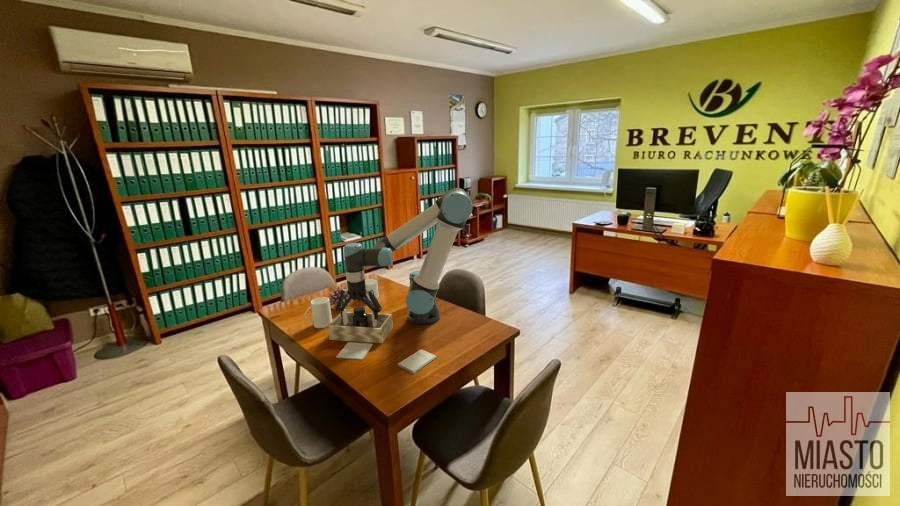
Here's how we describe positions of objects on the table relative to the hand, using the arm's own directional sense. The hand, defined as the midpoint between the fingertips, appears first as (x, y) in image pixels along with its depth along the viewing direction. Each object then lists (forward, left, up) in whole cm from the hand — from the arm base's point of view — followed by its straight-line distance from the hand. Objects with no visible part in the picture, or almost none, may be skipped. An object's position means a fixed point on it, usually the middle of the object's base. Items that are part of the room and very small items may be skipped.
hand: (360, 324), depth 158 cm
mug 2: (+12, -38, -4) cm, 40 cm away
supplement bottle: (0, 0, -4) cm, 4 cm away
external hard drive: (-30, +18, -5) cm, 36 cm away
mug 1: (+23, -5, -4) cm, 24 cm away
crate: (0, 0, -4) cm, 4 cm away
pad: (-3, +14, -4) cm, 15 cm away
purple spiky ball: (+21, -23, -4) cm, 31 cm away
